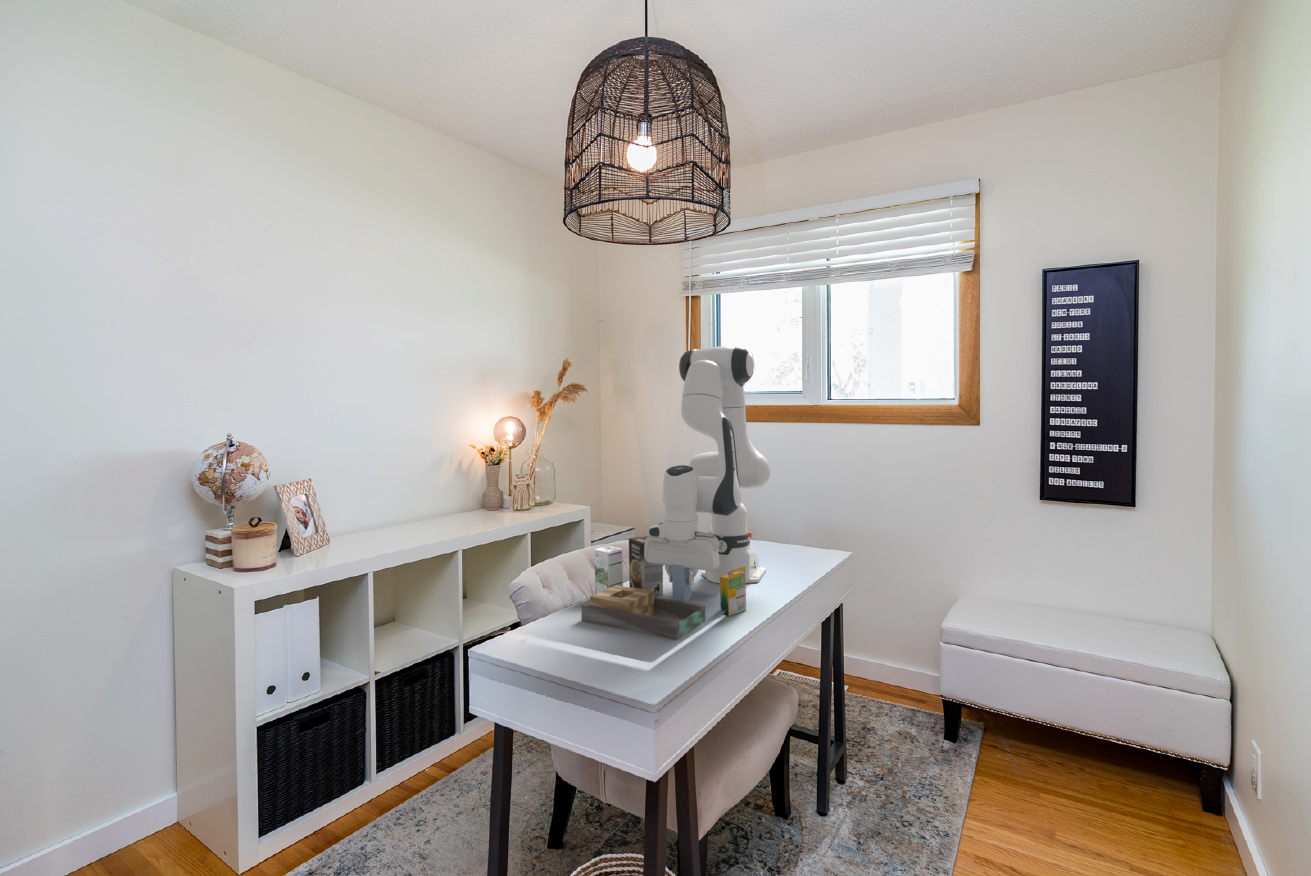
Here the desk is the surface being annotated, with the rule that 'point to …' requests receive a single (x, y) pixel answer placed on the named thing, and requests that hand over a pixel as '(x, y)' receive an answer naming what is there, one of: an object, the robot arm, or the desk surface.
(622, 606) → the slotted wooden block
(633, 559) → the coffee box
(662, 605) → the bay
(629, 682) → the desk surface
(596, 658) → the desk surface
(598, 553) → the syrup box
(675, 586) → the handle peg
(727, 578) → the crayon box
